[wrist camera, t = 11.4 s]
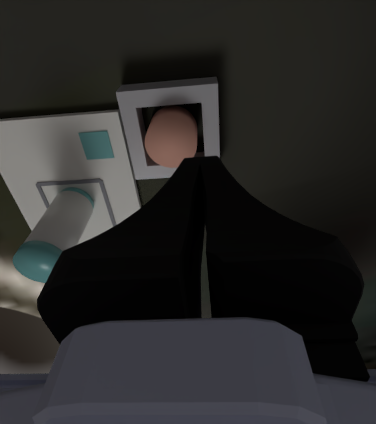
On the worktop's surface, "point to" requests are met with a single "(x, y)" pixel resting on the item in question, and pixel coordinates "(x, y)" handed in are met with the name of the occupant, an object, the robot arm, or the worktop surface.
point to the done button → (171, 136)
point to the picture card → (69, 165)
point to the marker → (54, 233)
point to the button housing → (161, 96)
